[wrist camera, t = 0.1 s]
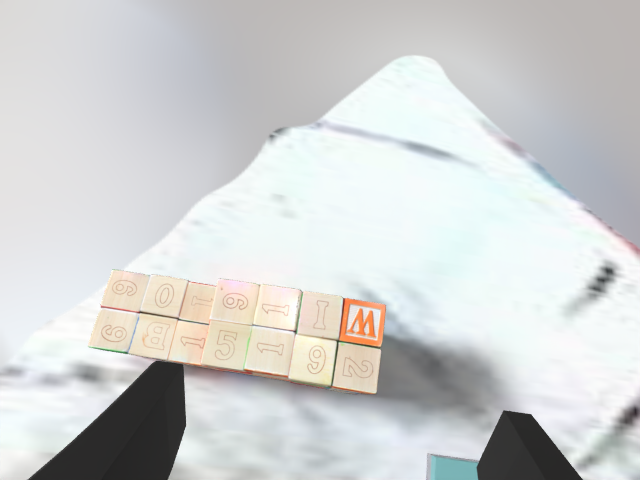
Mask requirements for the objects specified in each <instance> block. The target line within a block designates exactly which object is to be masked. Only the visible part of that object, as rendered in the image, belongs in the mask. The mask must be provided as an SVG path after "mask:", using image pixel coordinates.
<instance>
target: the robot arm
mask: <svg viewBox="0 0 640 480" xmlns="http://www.w3.org/2000/svg"><path fill="white" fill-rule="evenodd" d="M185 427H186V412H185V391H184V369H183V364H177V363H170V362H163V361H155V362H154V363H152V364H151V365H150V366H149V367H148V368H147V369H146V370H145V371H144V372H143V373H142V374H141V375H140V376H139V377H138V378H137V379H136V380H135V381H134V382H133V383H132V384H131V385H130V386H129V387H128V388H127V389H126V390H125V391H124V392H123V393H122V394H121V395H120V396H119V397H118V398H117V399H116V400H115V401H114V402H113V403H112V404H111V405H110V406H109V407H108V408H107V409H106V410H105V411H104V412H103V413H102V414H101V415H100V416H99V417H98V418H97V419H95V420H94V421H93V422H92V423H91V424H90V425H89V426H88V427H87V428H86V429H85V430H84V431H83V432H81V433H80V434H79V435H78V436H77V437H76V438H75V439H74V440H73V441H72V442H71V443H70V444H68V445H67V446H66V447H65V448H64V449H63V450H62V451H61V452H59V453H58V454H57V455H56V456H55V457H54V458H52V459H51V460H50V461H49V462H48V463H47V464H45V465H44V466H43V467H42V468H41V469H40V470H38V471H37V472H36V473H35V474H34V475H33V476H31V477H30V478H29V479H28V480H168V477H169V475H170V473H171V470H172V467H173V464H174V461H175V458H176V455H177V452H178V449H179V446H180V443H181V440H182V437H183V433H184V430H185ZM476 468H477V476H478V480H583V479H582V478H581V477H580V476H579V474H578V473H577V472H576V471H575V469H574V468H573V467H572V466H571V464H570V463H569V462H568V460H567V459H566V458H565V457H564V455H563V454H562V453H561V452H560V450H559V449H558V448H557V446H556V445H555V444H554V443H553V441H552V440H551V439H550V438H549V436H548V435H547V434H546V432H545V431H544V430H543V429H542V427H541V426H540V425H539V424H538V422H537V421H536V420H535V419H534V417H533V416H532V415H531V414H525V413H518V412H511V411H503V413H502V415H501V417H500V419H499V421H498V423H497V425H496V427H495V429H494V431H493V434H492V436H491V438H490V440H489V442H488V444H487V446H486V448H485V450H484V452H483V454H482V456H481V459H480V461H479V463H478V465H477V467H476Z"/></svg>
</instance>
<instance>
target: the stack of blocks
mask: <svg viewBox="0 0 640 480" xmlns="http://www.w3.org/2000/svg"><path fill="white" fill-rule="evenodd" d="M385 312H386V305H385V304H380V303H374V302H367V301H361V300H355V299H349V298H343V297H341V296H335V295H328V294H321V293H314V292H307V291H304V292H302V291H301V290H299V289H294V288H286V287H280V286H272V285H265V284H262V285H259V284H255V283H248V282H241V281H234V280H227V279H221V278H220V279H218V282H217V286H213V285H207V284H201V283H196V282H190V281H189V280H185V279H179V278H174V277H167V276H161V275H155V274H151V275H145V274H140V273H134V272H128V271H122V270H115V269H113V270H112V272H111V275H110V278H109V281H108V284H107V287H106V290H105V293H104V296H103V299H102V302H101V308H100V310H99V313H98V316H97V319H96V322H95V325H94V328H93V331H92V334H91V337H90V340H89V343H88V347H90V348H95V349H100V350H105V351H112V352H118V353H124V354H131V355H136V356H142V357H148V358H153V359H159V360H164V361H169V362H175V363H181V364H186V365H191V366H197V367H203V368H210V369H215V370H221V371H230V372H236V373H242V374H248V375H253V376H261V377H266V378H272V379H278V380H283V381H290V382H291V383H296V384H302V385H307V386H313V387H318V388H323V389H327V390H333V391H338V392H344V393H349V394H358V393H361V394H376V393H377V384H378V376H379V368H380V360H381V349H380V347H381V346H382V340H383V331H384V322H385Z"/></svg>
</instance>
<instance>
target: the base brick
mask: <svg viewBox="0 0 640 480" xmlns="http://www.w3.org/2000/svg"><path fill="white" fill-rule="evenodd" d="M478 463H479V461H476V460H469V459H462V458H455V457H448V456H441V455H434V454H428V455H427V477H426V480H478V476H477V468H476V467H477V465H478Z"/></svg>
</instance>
